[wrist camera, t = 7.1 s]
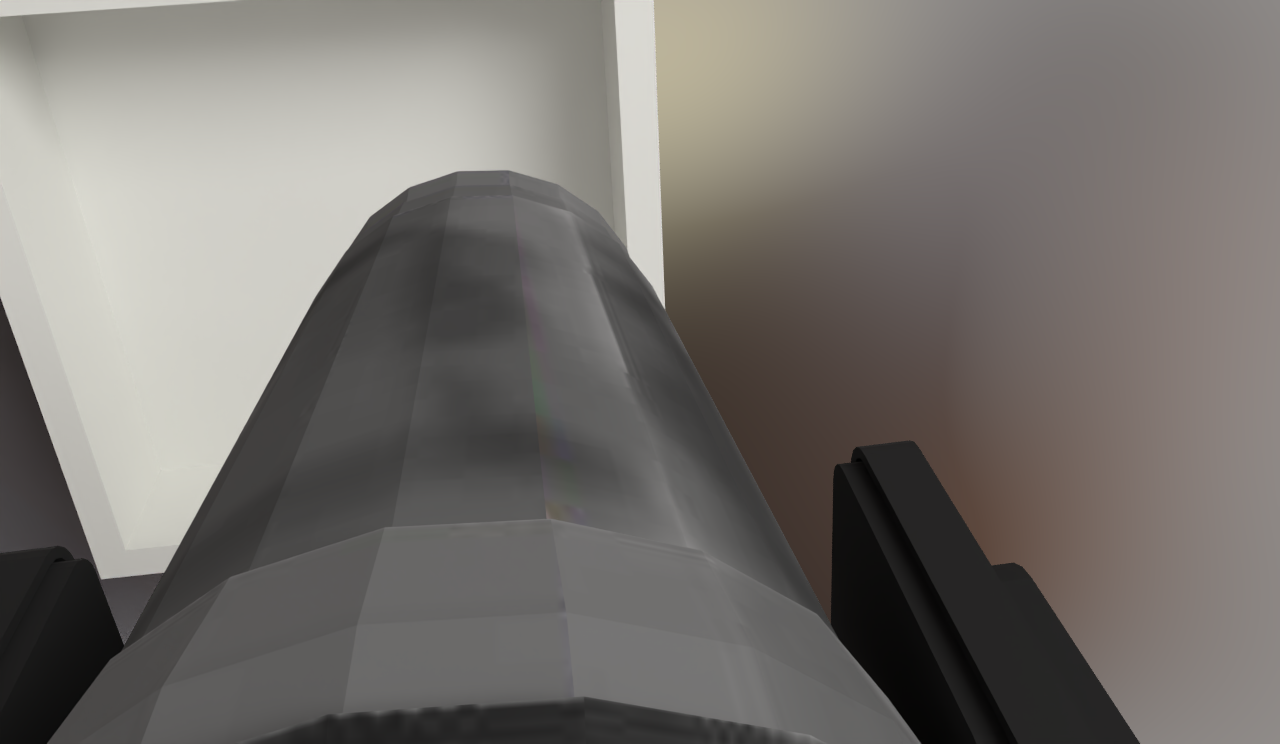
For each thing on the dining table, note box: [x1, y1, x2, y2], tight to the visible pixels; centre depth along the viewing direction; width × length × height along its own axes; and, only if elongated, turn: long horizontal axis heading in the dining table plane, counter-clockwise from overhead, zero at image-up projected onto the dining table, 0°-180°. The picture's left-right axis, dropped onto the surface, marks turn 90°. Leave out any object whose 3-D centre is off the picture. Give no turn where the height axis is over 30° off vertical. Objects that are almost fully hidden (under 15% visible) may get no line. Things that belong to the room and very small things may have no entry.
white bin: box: [0, 0, 665, 579], centre depth 34 cm, size 18×18×5 cm
